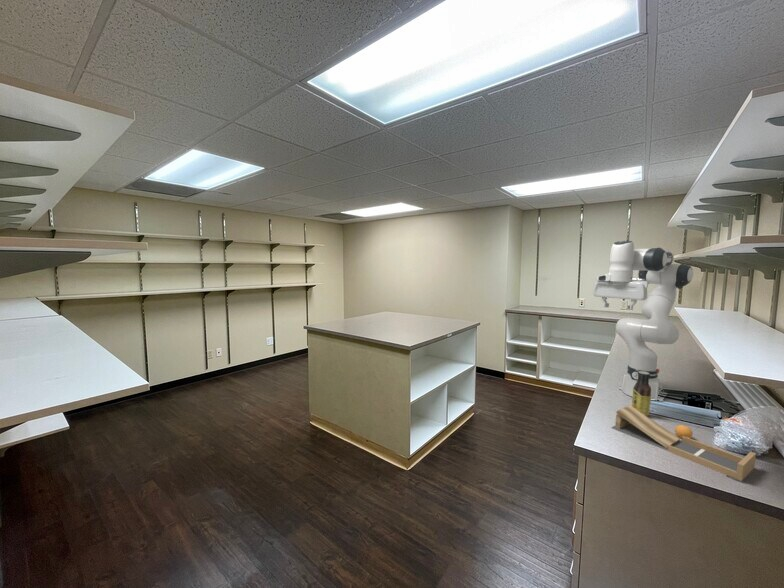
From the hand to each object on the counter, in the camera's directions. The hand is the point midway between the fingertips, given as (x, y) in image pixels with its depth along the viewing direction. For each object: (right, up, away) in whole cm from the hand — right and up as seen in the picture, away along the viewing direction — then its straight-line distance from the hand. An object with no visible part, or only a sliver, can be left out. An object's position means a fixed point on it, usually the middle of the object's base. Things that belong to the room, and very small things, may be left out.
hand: (617, 308), depth 143 cm
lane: (+2, -49, -26) cm, 56 cm away
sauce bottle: (+8, -48, -2) cm, 48 cm away
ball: (+10, -49, -21) cm, 54 cm away
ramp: (-2, -48, -19) cm, 52 cm away
